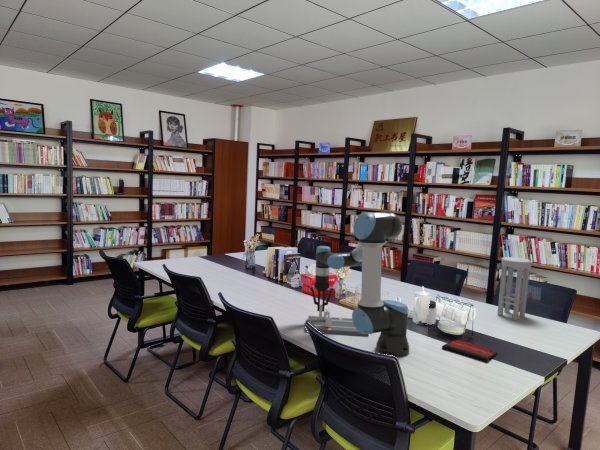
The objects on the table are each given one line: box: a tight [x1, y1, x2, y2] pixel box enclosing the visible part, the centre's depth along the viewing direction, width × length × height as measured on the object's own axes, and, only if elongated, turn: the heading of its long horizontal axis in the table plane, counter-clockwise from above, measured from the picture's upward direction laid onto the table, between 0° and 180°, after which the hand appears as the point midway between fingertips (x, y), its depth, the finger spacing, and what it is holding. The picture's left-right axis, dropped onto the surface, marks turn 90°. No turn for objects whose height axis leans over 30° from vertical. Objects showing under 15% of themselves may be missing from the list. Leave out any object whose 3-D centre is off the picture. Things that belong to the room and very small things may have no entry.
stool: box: [497, 256, 532, 321], centre depth 254 cm, size 16×16×35 cm
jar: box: [426, 299, 437, 326], centre depth 237 cm, size 9×8×12 cm
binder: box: [441, 339, 498, 364], centre depth 199 cm, size 16×2×21 cm
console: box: [305, 315, 370, 337], centre depth 224 cm, size 21×32×2 cm, turn 85°
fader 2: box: [325, 314, 333, 327], centre depth 219 cm, size 4×3×5 cm
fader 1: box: [323, 308, 331, 320], centre depth 229 cm, size 4×3×5 cm
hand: (320, 316), depth 229 cm, fingers closed
